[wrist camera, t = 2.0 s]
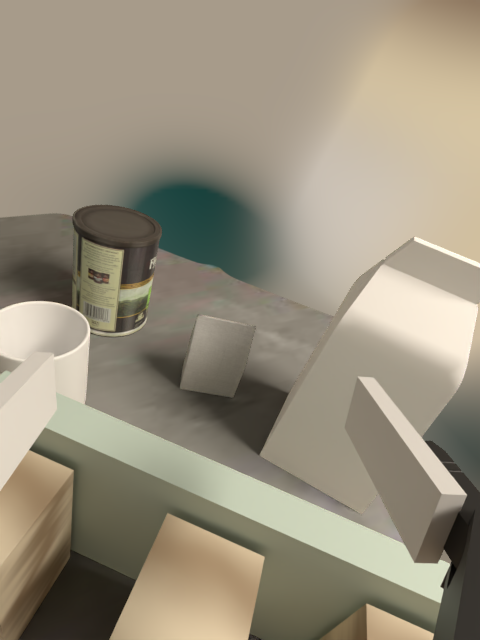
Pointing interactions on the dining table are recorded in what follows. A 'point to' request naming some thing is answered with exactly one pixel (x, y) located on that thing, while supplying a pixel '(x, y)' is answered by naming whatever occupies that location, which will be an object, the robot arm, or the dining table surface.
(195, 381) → the white juice carton
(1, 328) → the mug
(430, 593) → the rack board
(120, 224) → the coffee can
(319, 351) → the milk
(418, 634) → the numbered block 1
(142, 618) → the plain block
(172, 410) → the dining table surface
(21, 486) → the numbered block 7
